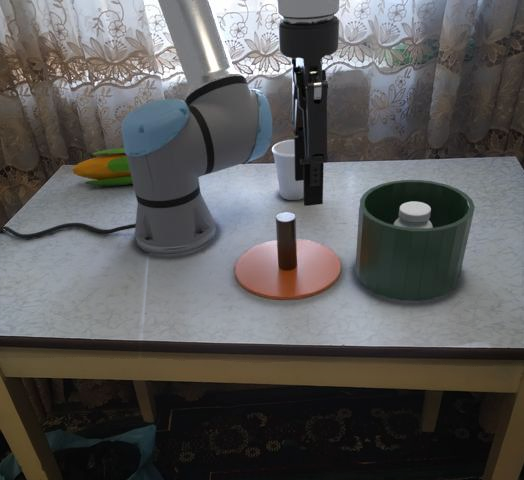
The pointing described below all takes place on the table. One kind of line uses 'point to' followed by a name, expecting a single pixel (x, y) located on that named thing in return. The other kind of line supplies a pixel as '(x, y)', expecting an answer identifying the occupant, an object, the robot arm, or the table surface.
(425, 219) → the pill bottle
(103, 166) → the corn
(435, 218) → the tin
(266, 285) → the tin lid
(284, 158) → the dixie cup
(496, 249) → the table surface
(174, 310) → the table surface
